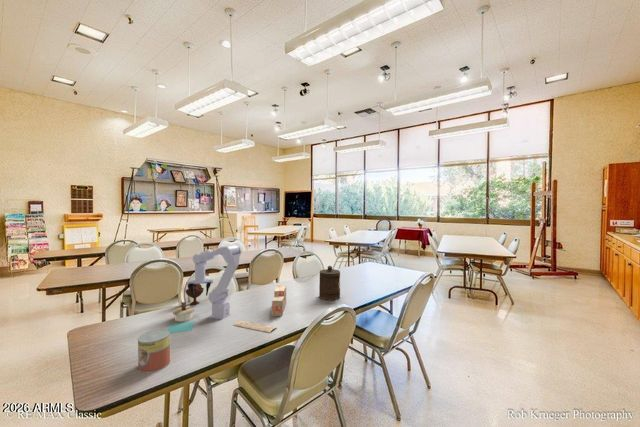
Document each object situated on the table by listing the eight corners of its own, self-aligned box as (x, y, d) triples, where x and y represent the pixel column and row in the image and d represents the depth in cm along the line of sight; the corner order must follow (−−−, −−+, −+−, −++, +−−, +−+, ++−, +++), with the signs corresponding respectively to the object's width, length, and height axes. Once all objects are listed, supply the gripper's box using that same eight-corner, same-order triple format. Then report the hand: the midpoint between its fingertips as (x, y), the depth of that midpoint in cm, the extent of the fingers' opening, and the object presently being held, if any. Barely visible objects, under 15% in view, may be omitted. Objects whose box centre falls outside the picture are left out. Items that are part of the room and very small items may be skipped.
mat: (194, 322, 158) (194, 321, 158) (191, 331, 146) (191, 330, 146) (170, 325, 154) (170, 324, 154) (165, 334, 143) (165, 333, 143)
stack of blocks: (282, 316, 167) (282, 295, 167) (271, 316, 167) (271, 295, 167) (286, 303, 188) (286, 285, 188) (276, 303, 188) (276, 285, 188)
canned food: (131, 369, 113) (130, 339, 112) (156, 355, 123) (156, 328, 123) (152, 375, 109) (151, 344, 108) (176, 360, 119) (176, 332, 119)
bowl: (195, 316, 166) (195, 309, 166) (185, 323, 157) (185, 315, 157) (182, 315, 168) (182, 308, 168) (171, 321, 159) (171, 313, 159)
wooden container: (344, 297, 201) (344, 266, 200) (327, 301, 193) (327, 269, 192) (331, 292, 213) (331, 263, 213) (315, 295, 205) (315, 265, 204)
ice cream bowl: (197, 307, 182) (197, 283, 182) (182, 305, 184) (181, 282, 184) (207, 301, 192) (206, 279, 192) (192, 300, 195) (192, 278, 194)
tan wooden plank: (233, 326, 154) (233, 323, 154) (241, 321, 160) (241, 318, 160) (270, 334, 144) (270, 331, 144) (277, 329, 151) (277, 325, 151)
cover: (198, 309, 166) (198, 300, 166) (184, 316, 155) (184, 307, 155) (182, 307, 169) (182, 299, 169) (168, 314, 158) (168, 305, 158)
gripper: (213, 271, 178) (213, 292, 178) (188, 272, 174) (188, 294, 174) (212, 273, 171) (212, 296, 172) (186, 275, 167) (186, 298, 167)
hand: (200, 295), depth 172 cm, fingers open, 7 cm apart
